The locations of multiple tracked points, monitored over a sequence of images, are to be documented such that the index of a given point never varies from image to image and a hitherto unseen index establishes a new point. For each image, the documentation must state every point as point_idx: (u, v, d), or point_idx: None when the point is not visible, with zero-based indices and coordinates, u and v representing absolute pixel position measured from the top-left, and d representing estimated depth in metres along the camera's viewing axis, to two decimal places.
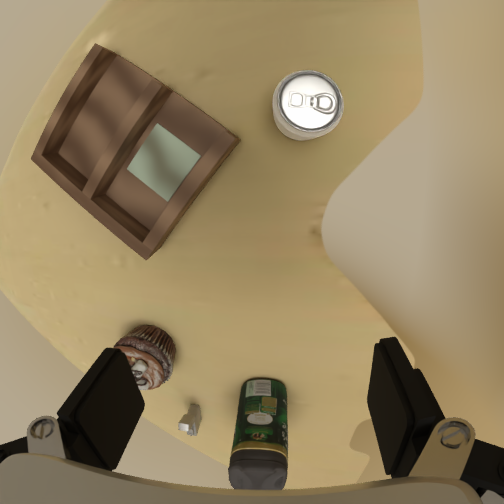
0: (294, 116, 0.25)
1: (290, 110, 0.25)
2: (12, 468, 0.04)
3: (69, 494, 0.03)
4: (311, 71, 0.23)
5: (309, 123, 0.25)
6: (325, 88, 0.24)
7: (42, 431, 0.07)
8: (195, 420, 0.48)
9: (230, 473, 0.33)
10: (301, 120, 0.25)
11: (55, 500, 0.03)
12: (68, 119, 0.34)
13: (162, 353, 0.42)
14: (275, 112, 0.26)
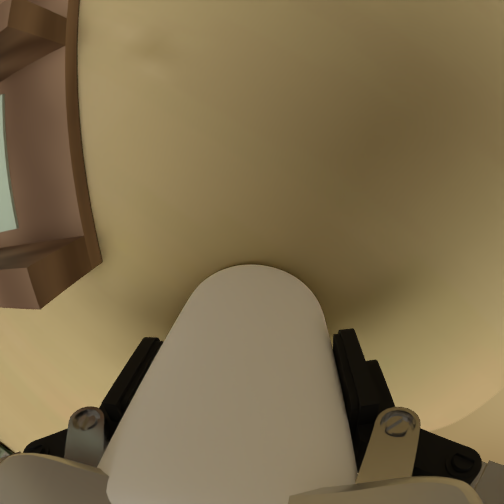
0: None
1: None
2: (12, 468, 0.04)
3: (69, 494, 0.04)
4: None
5: None
6: None
7: (85, 422, 0.07)
8: None
9: None
10: None
11: (55, 500, 0.03)
12: None
13: None
14: None
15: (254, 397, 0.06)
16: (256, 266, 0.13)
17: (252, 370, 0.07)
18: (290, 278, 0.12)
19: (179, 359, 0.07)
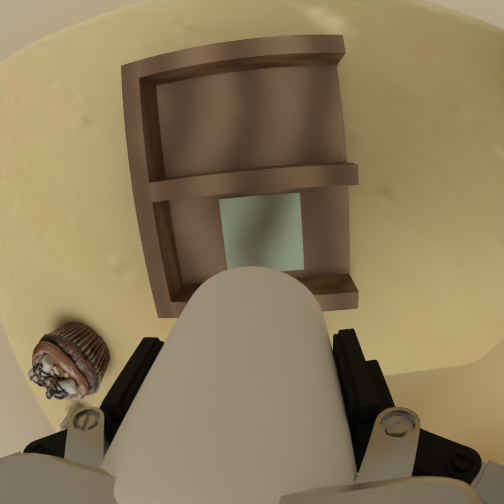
0: None
1: None
2: (12, 468, 0.04)
3: (69, 494, 0.04)
4: None
5: None
6: None
7: (85, 422, 0.07)
8: None
9: None
10: None
11: (55, 500, 0.03)
12: (211, 69, 0.23)
13: (97, 381, 0.32)
14: None
15: (254, 399, 0.06)
16: (256, 268, 0.13)
17: (253, 373, 0.07)
18: (290, 280, 0.12)
19: (180, 361, 0.07)
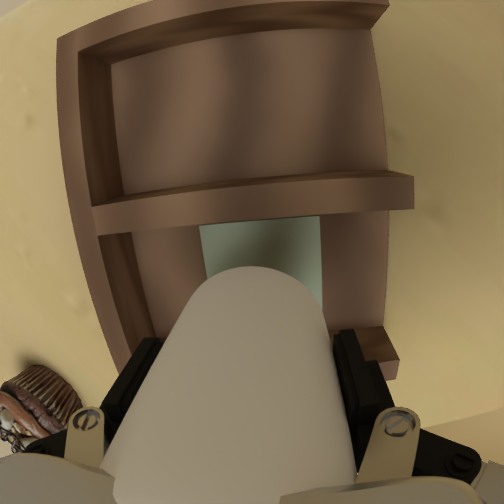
0: None
1: None
2: (12, 468, 0.04)
3: (69, 494, 0.04)
4: None
5: None
6: None
7: (85, 422, 0.07)
8: None
9: None
10: None
11: (55, 500, 0.03)
12: (184, 33, 0.14)
13: None
14: None
15: (254, 400, 0.06)
16: (256, 268, 0.13)
17: (252, 373, 0.07)
18: (290, 280, 0.12)
19: (179, 361, 0.07)
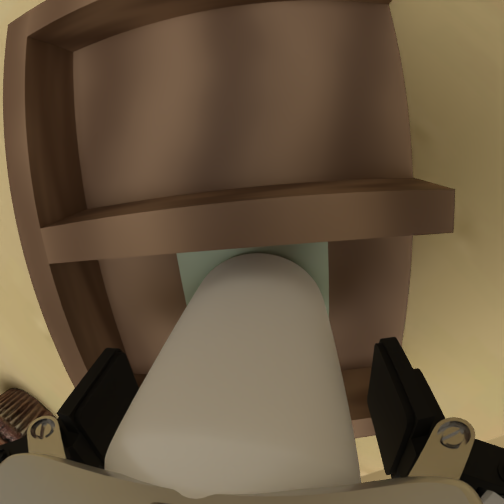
0: None
1: None
2: (12, 468, 0.04)
3: (69, 494, 0.03)
4: None
5: None
6: None
7: (42, 431, 0.07)
8: None
9: None
10: None
11: (55, 500, 0.03)
12: (155, 6, 0.10)
13: None
14: (105, 462, 0.05)
15: (261, 354, 0.07)
16: (262, 254, 0.14)
17: (259, 334, 0.08)
18: (292, 265, 0.14)
19: (195, 327, 0.09)
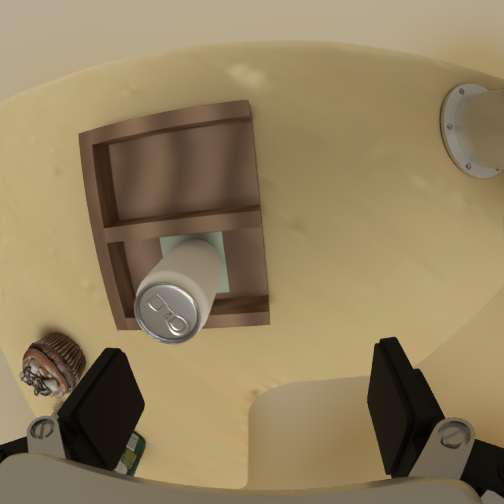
0: (144, 312, 0.24)
1: (145, 306, 0.24)
2: (12, 468, 0.04)
3: (69, 494, 0.04)
4: (189, 293, 0.24)
5: (152, 326, 0.25)
6: (189, 315, 0.24)
7: (42, 431, 0.07)
8: None
9: None
10: (148, 319, 0.25)
11: (55, 500, 0.03)
12: (147, 134, 0.30)
13: (75, 380, 0.38)
14: (137, 290, 0.25)
15: (181, 261, 0.27)
16: (193, 239, 0.34)
17: (182, 257, 0.28)
18: (205, 243, 0.34)
19: (165, 258, 0.29)
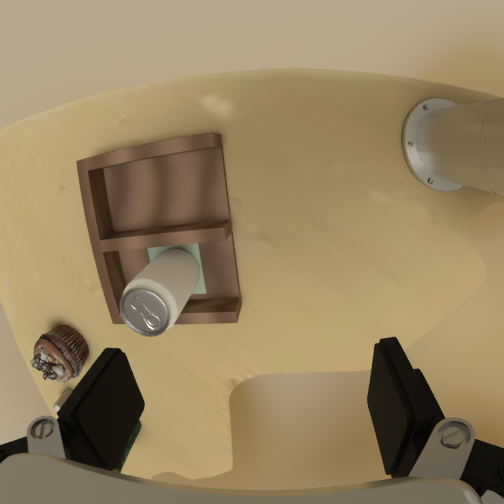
0: (128, 311, 0.31)
1: (128, 306, 0.30)
2: (12, 468, 0.04)
3: (69, 494, 0.04)
4: (160, 297, 0.30)
5: (134, 322, 0.31)
6: (161, 314, 0.30)
7: (42, 431, 0.07)
8: None
9: None
10: (130, 316, 0.31)
11: (55, 500, 0.03)
12: (133, 161, 0.36)
13: (78, 367, 0.45)
14: (123, 293, 0.31)
15: (158, 269, 0.33)
16: (174, 248, 0.40)
17: (160, 266, 0.34)
18: (184, 252, 0.40)
19: (147, 266, 0.35)
